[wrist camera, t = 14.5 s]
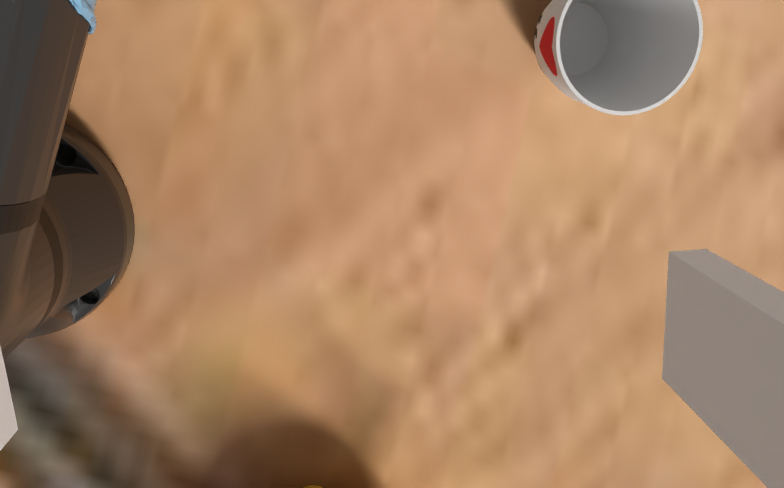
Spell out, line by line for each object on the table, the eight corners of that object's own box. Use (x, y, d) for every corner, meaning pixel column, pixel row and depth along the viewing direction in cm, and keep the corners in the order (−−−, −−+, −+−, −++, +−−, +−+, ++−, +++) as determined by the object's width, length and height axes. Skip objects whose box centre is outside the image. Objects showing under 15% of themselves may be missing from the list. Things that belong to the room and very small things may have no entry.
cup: (547, -46, 48) (600, -69, 38) (653, 8, 49) (730, 0, 39) (493, 71, 49) (530, 77, 40) (596, 120, 51) (656, 138, 41)
